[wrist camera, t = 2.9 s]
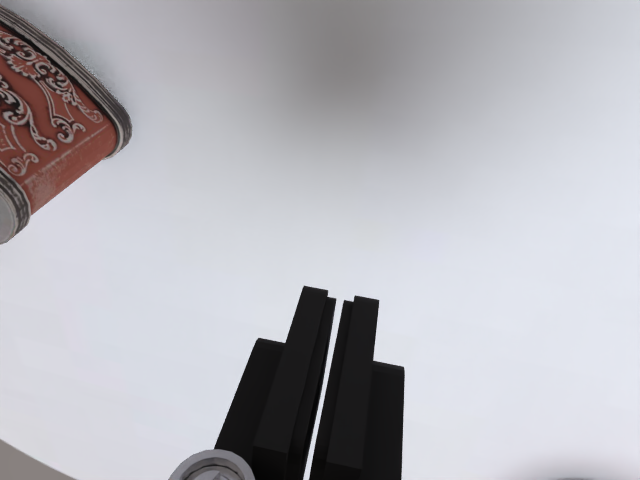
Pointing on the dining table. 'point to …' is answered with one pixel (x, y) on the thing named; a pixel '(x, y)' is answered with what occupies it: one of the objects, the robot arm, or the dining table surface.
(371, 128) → the dining table surface
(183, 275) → the dining table surface
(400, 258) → the dining table surface
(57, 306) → the dining table surface
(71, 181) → the lighter
